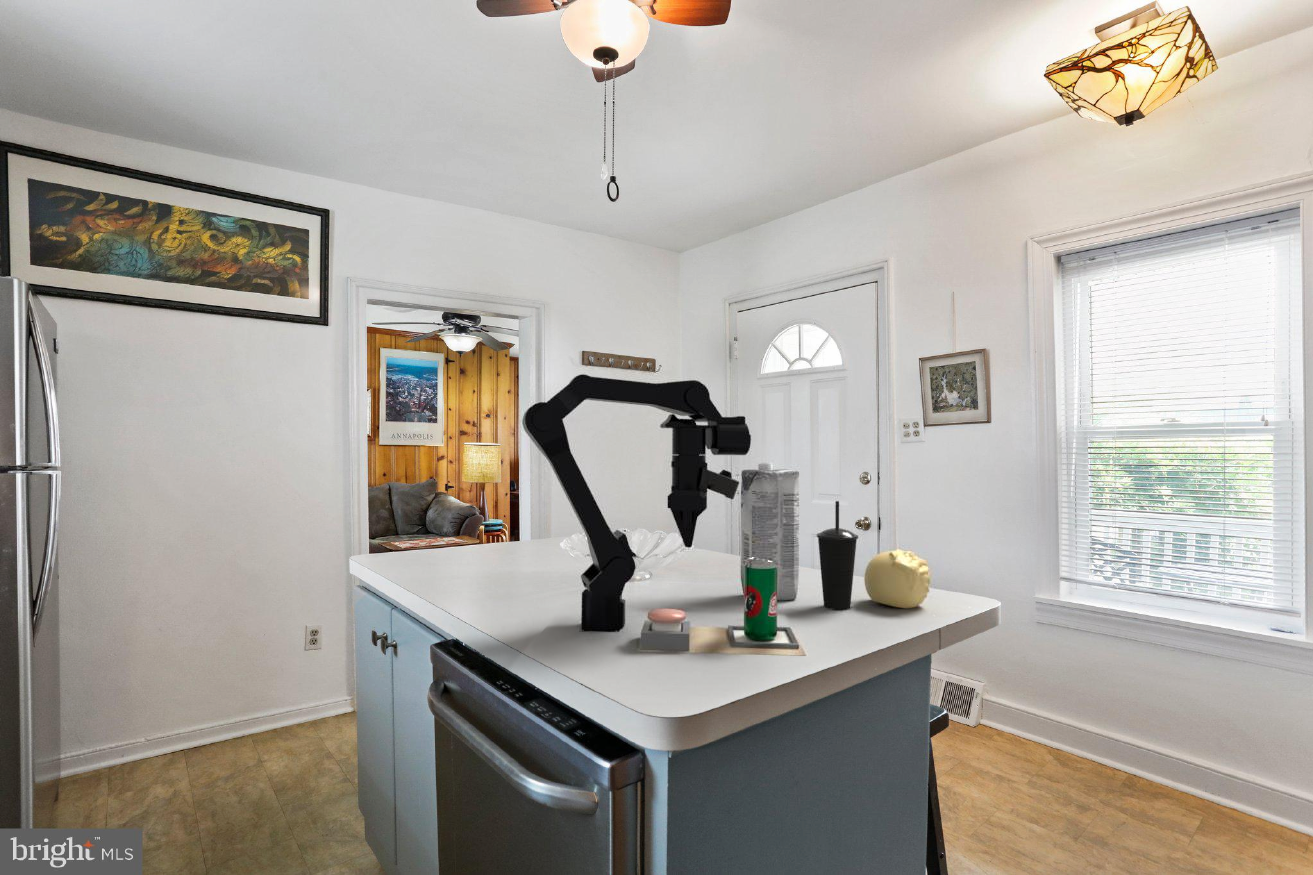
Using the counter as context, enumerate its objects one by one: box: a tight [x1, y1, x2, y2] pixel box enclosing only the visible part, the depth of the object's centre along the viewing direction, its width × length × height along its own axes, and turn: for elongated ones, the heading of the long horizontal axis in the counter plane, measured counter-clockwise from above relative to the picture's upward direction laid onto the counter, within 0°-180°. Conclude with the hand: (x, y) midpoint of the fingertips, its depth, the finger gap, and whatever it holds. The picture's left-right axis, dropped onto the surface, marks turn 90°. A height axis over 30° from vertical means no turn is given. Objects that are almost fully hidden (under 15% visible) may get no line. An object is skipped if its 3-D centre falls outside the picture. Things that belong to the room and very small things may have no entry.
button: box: [647, 608, 686, 632], centre depth 99 cm, size 6×6×4 cm
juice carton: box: [740, 462, 800, 602], centre depth 134 cm, size 9×10×27 cm
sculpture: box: [863, 548, 931, 609], centre depth 129 cm, size 12×12×11 cm
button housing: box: [640, 619, 691, 651], centre depth 99 cm, size 7×7×2 cm
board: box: [636, 625, 807, 657], centre depth 102 cm, size 24×14×1 cm, turn 86°
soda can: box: [743, 557, 778, 641], centre depth 103 cm, size 5×5×12 cm
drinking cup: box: [816, 500, 859, 611], centre depth 127 cm, size 8×8×20 cm
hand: (688, 547), depth 113 cm, fingers closed
